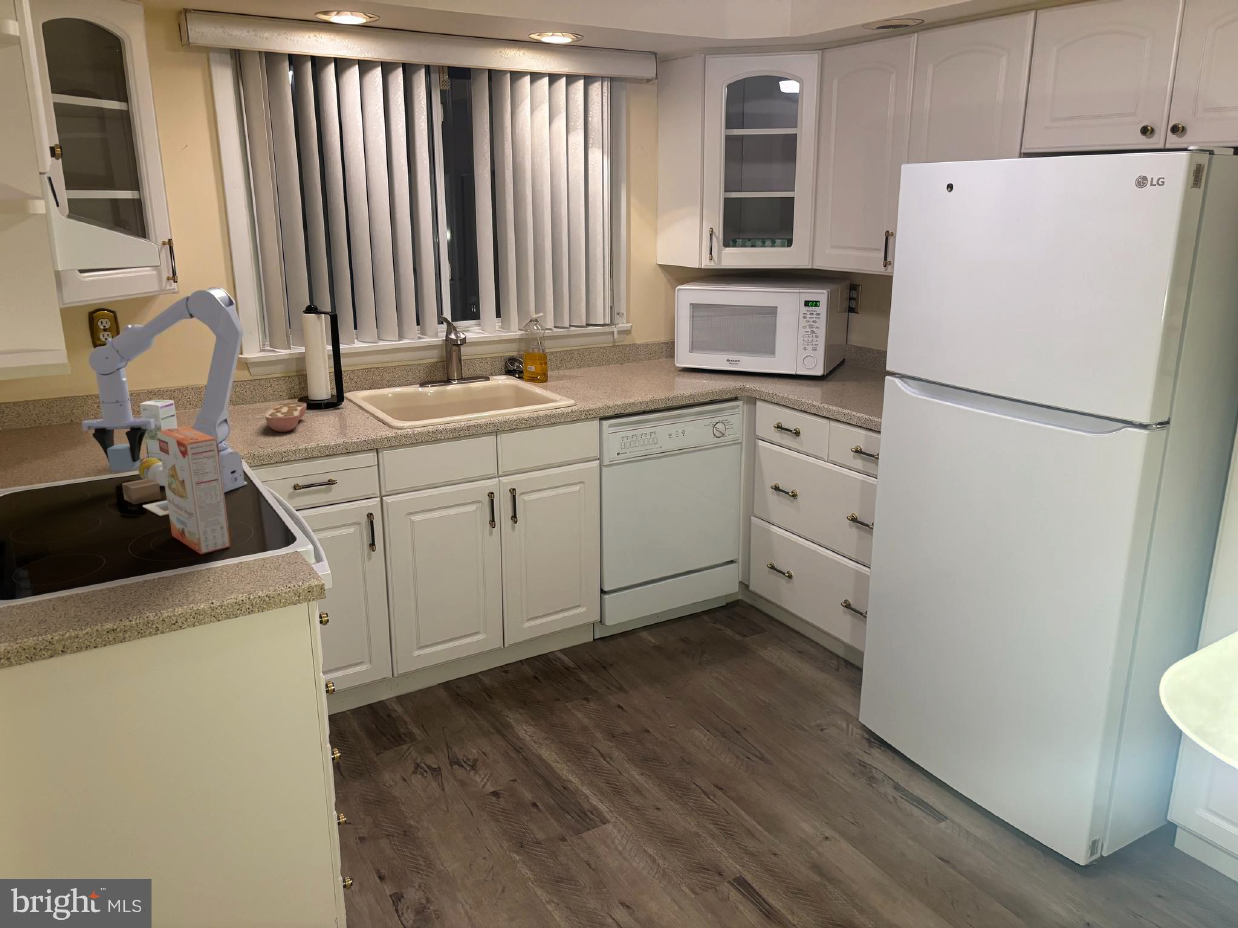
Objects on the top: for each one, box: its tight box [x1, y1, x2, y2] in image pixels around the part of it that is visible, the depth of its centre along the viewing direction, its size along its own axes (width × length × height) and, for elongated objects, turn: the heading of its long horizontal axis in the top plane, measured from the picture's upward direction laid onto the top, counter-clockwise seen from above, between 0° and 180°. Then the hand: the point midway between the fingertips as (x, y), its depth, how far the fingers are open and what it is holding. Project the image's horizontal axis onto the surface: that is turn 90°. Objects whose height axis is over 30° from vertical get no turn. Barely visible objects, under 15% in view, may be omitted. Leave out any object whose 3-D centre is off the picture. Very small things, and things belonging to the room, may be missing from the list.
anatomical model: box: [264, 401, 307, 433], centre depth 269 cm, size 23×10×5 cm, turn 10°
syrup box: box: [139, 399, 178, 461], centre depth 233 cm, size 6×6×14 cm
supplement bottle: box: [137, 457, 165, 487], centre depth 211 cm, size 5×5×10 cm
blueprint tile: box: [142, 499, 169, 517], centre depth 194 cm, size 9×6×1 cm, turn 47°
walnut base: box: [121, 478, 162, 505], centre depth 200 cm, size 6×6×4 cm
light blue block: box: [107, 443, 141, 472], centre depth 206 cm, size 4×4×5 cm
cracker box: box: [157, 426, 232, 555], centre depth 171 cm, size 14×6×21 cm, turn 45°
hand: (124, 461), depth 206 cm, fingers closed on light blue block, 4 cm apart
